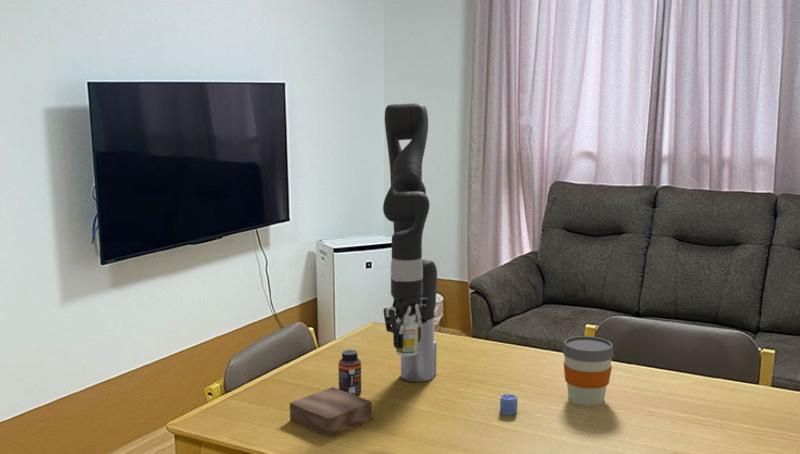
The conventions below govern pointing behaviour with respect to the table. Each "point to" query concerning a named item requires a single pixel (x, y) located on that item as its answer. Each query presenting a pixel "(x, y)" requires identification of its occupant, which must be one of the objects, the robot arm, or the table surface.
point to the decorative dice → (508, 404)
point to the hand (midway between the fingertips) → (407, 344)
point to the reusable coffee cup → (587, 369)
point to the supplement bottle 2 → (409, 337)
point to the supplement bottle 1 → (350, 372)
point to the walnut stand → (330, 411)
